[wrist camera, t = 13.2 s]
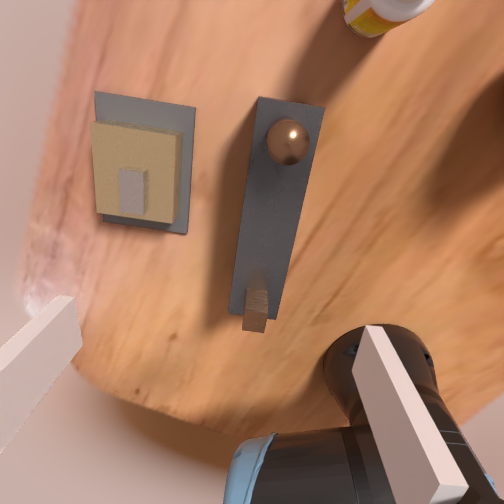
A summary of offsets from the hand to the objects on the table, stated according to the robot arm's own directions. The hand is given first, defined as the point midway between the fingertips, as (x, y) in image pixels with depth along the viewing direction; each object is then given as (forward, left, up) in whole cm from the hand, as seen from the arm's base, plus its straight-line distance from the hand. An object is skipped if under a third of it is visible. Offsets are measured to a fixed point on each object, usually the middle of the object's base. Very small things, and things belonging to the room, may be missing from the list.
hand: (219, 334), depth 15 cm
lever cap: (+1, +11, -24) cm, 26 cm away
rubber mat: (+1, +11, -24) cm, 27 cm away
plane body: (-1, -3, -24) cm, 24 cm away
